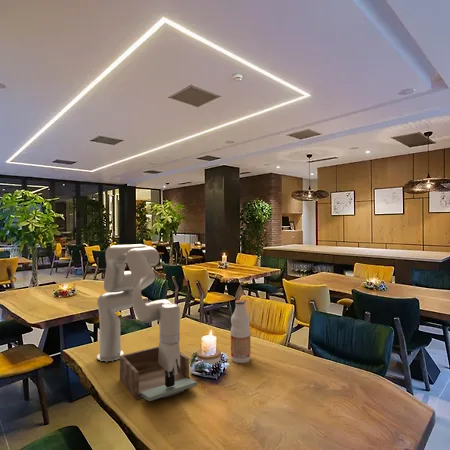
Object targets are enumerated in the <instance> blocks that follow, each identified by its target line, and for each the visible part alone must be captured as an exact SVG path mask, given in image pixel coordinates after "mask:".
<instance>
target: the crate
mask: <svg viewBox="0 0 450 450" xmlns="http://www.w3.org/2000/svg"><path fill="white" fill-rule="evenodd" d="M158 354H159V345H158V346H154V347H151V348H146V349H142V350H137V351H133V352H129V353H124V355H121V356H120V359H119V380H120V381H121V383H122V382H123V383H122V385H124V387H125V388H126V390H127V391H129V393H130V394H131V396H133V398H134V400H139V398H140V399H142V398H143V399H144V397H142V396H141V392H144V391H147V390H150V389H153V388H156V387H159V386H163V385H165V372H164V369H163V368H162V367H161V366H160V365H159V363H158ZM189 363H190V359H189V356H187V355H186V354H184V353H183V352H181V351H180V369H177V372H178V374H177V375H175V381H178V380H181V379H185V378H188V379H191V376H190V364H189Z"/></svg>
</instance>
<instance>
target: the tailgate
mask: <svg viewBox="0 0 450 450" xmlns="http://www.w3.org/2000/svg"><path fill="white" fill-rule="evenodd" d="M197 385H198V382H197V381H196V380H192V378H190V379H188V378H185V379H181V380H178V381H175V385H174V386H171V387H168V388H167V387H166V386H165V385H163V386H159V387H156V388H153V389H150V390H147V391H144V392H141V396H142V397H143V399H145V400H146V401H148V402H151V401H154V400H157V399H160V398H163V399H165V398H168V397H171V396H173V395H177V394H179V393H183V392H184V390H186V389H190V388H193V387H196V386H197Z"/></svg>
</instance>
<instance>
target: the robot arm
mask: <svg viewBox="0 0 450 450" xmlns="http://www.w3.org/2000/svg"><path fill="white" fill-rule="evenodd" d="M104 256H105V263H106V268H105V273H104V279H103V290H104V291H105V292H106V293H103V294H101V295H100V296H98V298H97V301H96V302H97V309H98V315H99V317H98V318H99V353H98V354H97V355H96V360H97V359H98V360H100V361H99V362H101V361H105V362H104V363H109V362H108V361H112V362H115V361H114V360H116V361H118V359H119V360H120V356H121V355H125V352H124V351H123V350H121V319H120V317H119V316H118V314H117V313H116V312H119V311H123V310H124V311H125V310H127V309H130V308H133V310H134V311H133V312H134V314H135V315H136V317H137V319H138V321H139V322H141V323H143V324H147V323H152V322H155V321H159V343H158V346H159V354H158V363H159V365H160V366H161V367H162V368H163V369H164V372H165V386H166V387H167V388H168V387H171V386H174V385H175V375H177V374H178V372H177V369H180V352H181V350H180V342H181V340H180V339H181V337H180V335H181V334H180V333H181V329H180V328H181V323H180V321H181V320H180V318H181V316H180V312H181V311H180V310H181V308H180V305H179V304H178V303H173V302H172V301H170V300H169V299H167V298H163V299H156V300H152V301H146V302H145V301H144V298H143V295H142V291H143V290H144V289H146V288H147V287H148V286H151V284H152V283H154V281H155V280H156V274H155V272H154V270H153V268H152V267H154V266H157V265H158V264H159V262H160V254H159V251H158V250H157V249H156V248H155V247H153V246H149V245H146V244H142V243H138V244H137V243H136V244H117V245H110V246H108V247H107V248H106V250H105V255H104ZM126 265H127V266H128V269H129V270H126ZM98 360H97V361H98Z"/></svg>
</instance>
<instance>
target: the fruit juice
mask: <svg viewBox="0 0 450 450" xmlns="http://www.w3.org/2000/svg"><path fill="white" fill-rule="evenodd" d="M234 303H235V308H234V311H233V313H232V315H231V317H230V323H231V327H230V359H231V361H232V362H234V363H236V364H246V363H249V362H250V361H251V357H252V356H251V328H250V322H251V318H250V315H249V314H248V311H247V310H246V306H245V305H246V301H245V300H243V299H237V300H235V301H234Z"/></svg>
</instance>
